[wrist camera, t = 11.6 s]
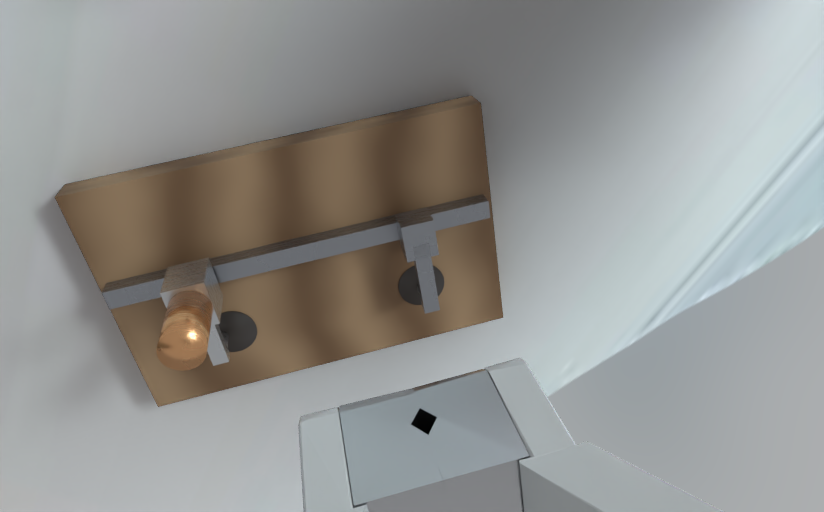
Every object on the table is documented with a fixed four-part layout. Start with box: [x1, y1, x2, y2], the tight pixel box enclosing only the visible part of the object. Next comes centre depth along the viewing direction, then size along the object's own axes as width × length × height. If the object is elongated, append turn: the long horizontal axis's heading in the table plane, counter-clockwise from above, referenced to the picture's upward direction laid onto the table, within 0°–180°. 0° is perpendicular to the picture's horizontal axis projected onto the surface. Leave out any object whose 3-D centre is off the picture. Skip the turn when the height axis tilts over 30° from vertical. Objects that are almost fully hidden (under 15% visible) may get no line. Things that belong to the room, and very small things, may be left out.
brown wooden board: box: [55, 96, 503, 407], centre depth 40 cm, size 25×16×2 cm, turn 99°
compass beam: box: [102, 194, 490, 314], centre depth 38 cm, size 24×6×3 cm, turn 99°
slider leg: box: [156, 257, 230, 371], centre depth 35 cm, size 2×7×8 cm, turn 9°
